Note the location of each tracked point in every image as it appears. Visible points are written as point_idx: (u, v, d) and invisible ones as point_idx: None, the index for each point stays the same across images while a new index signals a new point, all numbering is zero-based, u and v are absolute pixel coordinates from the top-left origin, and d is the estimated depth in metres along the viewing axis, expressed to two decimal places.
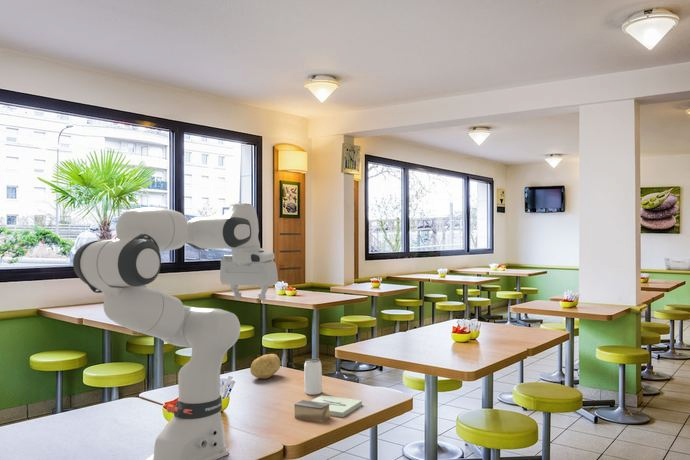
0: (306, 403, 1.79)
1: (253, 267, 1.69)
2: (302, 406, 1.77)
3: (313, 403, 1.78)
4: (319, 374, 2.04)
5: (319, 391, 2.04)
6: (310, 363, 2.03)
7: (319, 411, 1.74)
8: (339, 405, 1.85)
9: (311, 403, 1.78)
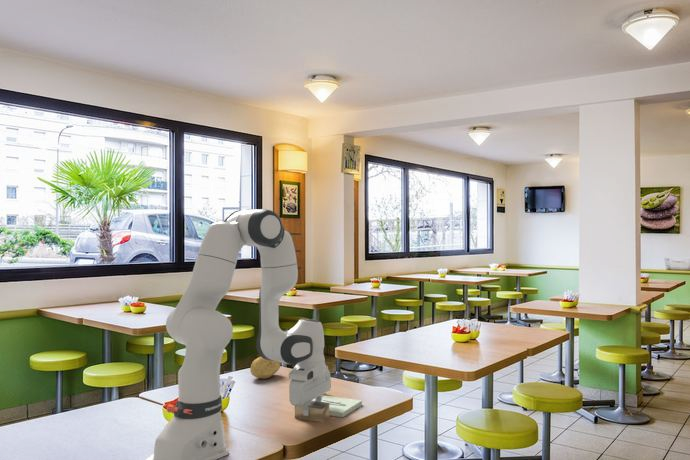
0: None
1: None
2: None
3: (313, 402, 1.78)
4: None
5: None
6: None
7: (319, 410, 1.74)
8: (339, 405, 1.85)
9: (311, 402, 1.78)
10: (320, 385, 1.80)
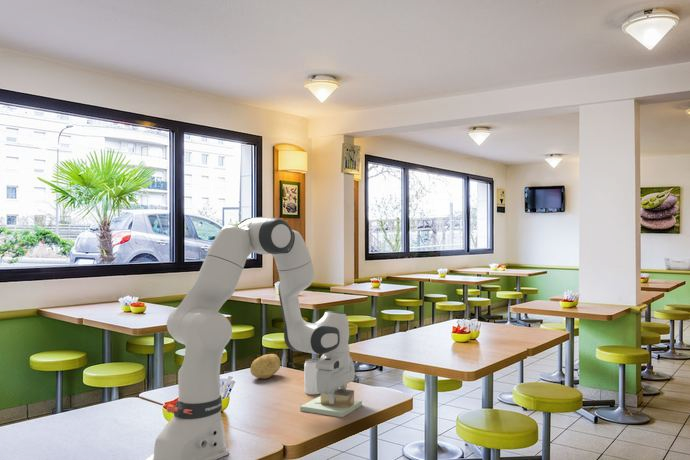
0: None
1: None
2: None
3: (338, 390, 1.86)
4: None
5: None
6: (310, 363, 2.03)
7: (345, 397, 1.82)
8: None
9: (336, 390, 1.86)
10: (345, 375, 1.88)
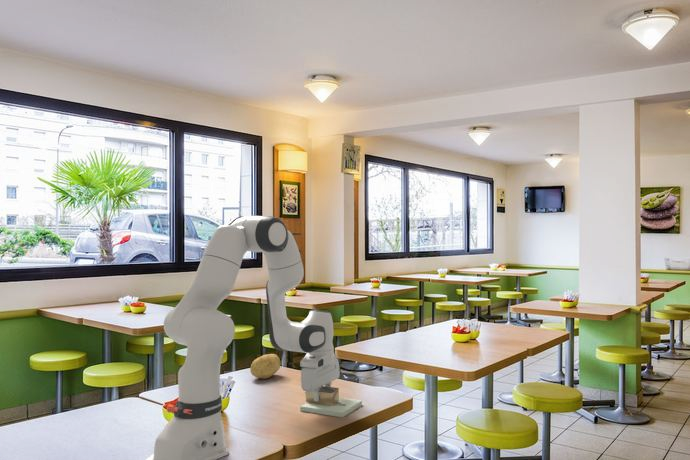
0: None
1: None
2: None
3: (323, 387, 1.89)
4: None
5: None
6: None
7: (329, 394, 1.85)
8: (339, 405, 1.85)
9: (321, 387, 1.89)
10: (329, 372, 1.91)
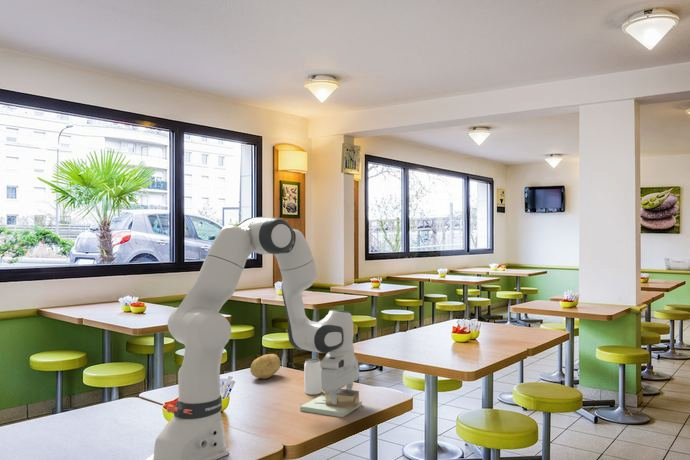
0: None
1: None
2: None
3: (343, 390, 1.86)
4: (319, 374, 2.04)
5: (319, 391, 2.04)
6: (310, 363, 2.03)
7: (350, 397, 1.81)
8: None
9: (341, 390, 1.86)
10: (349, 373, 1.87)
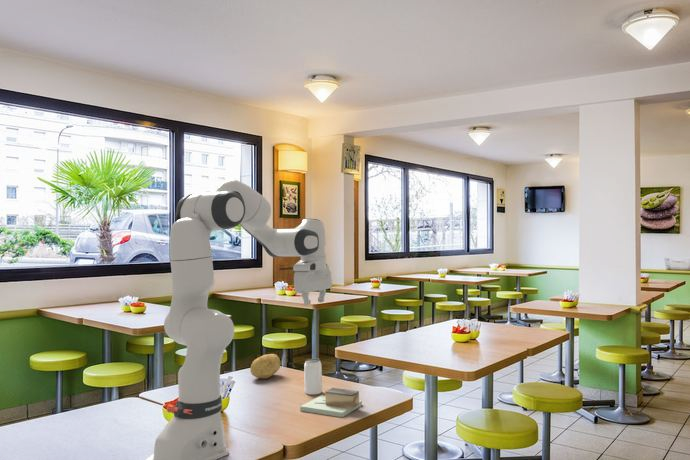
0: (336, 390, 1.86)
1: None
2: (333, 393, 1.84)
3: (343, 390, 1.86)
4: (319, 374, 2.04)
5: (319, 391, 2.04)
6: (310, 363, 2.03)
7: (350, 397, 1.81)
8: None
9: (341, 390, 1.86)
10: (322, 280, 1.98)
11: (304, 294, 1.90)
